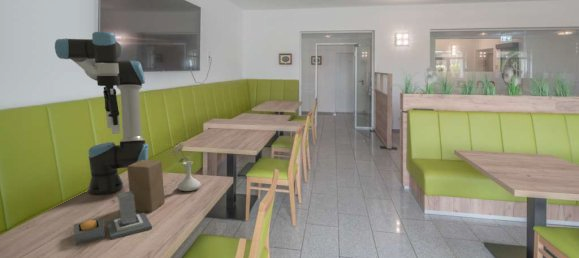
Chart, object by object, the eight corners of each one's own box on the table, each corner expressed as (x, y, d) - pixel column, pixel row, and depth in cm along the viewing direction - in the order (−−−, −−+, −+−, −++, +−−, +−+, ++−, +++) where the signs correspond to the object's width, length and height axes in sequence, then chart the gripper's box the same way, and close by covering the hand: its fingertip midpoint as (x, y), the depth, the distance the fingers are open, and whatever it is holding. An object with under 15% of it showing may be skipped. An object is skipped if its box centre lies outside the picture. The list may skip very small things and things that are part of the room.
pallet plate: (106, 224, 130) (105, 218, 130) (144, 215, 138) (144, 210, 138) (110, 239, 119) (110, 233, 118) (152, 228, 127) (151, 223, 126)
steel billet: (120, 222, 129) (117, 193, 127) (134, 219, 132) (131, 190, 129) (122, 227, 125) (119, 197, 123) (136, 224, 128) (134, 194, 125)
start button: (81, 230, 122) (80, 222, 121) (96, 226, 124) (95, 218, 124) (81, 235, 117) (80, 227, 117) (97, 231, 120) (96, 224, 120)
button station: (75, 234, 122) (73, 224, 122) (102, 227, 127) (101, 218, 127) (75, 245, 115) (74, 234, 114) (105, 237, 120) (104, 227, 119)
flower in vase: (191, 183, 175) (188, 137, 170) (205, 187, 169) (203, 140, 164) (169, 190, 165) (166, 141, 160) (184, 196, 158) (181, 145, 153)
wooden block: (151, 212, 140) (147, 167, 137) (130, 210, 142) (126, 165, 139) (165, 203, 150) (161, 160, 146) (145, 201, 152) (141, 159, 148)
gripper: (93, 74, 132) (99, 126, 136) (99, 76, 112) (106, 137, 116) (114, 73, 136) (119, 124, 140) (124, 75, 116) (129, 135, 120)
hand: (113, 130), depth 128 cm, fingers open, 13 cm apart
